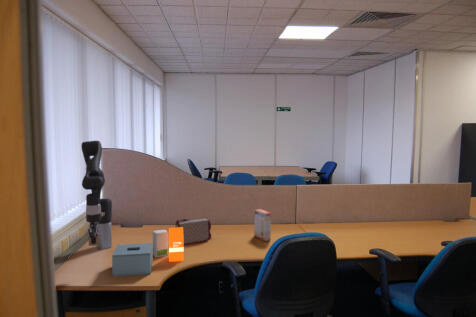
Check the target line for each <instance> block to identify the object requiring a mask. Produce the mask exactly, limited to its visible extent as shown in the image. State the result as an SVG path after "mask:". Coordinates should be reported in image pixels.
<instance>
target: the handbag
mask: <svg viewBox="0 0 476 317" xmlns="http://www.w3.org/2000/svg"><path fill="white" fill-rule="evenodd" d="M178 227H183V237H184V246H188V245H192V244H193V245H194V244H198V243H199V244H200V243H204V242H208V241H209V239H211V238H212V233H211V230H212V229H211V228H212V223H211V222H210V220H209V218H208V217H205V218H195V219H185V218H183V219H177V220H176V221H175V228H178Z"/></svg>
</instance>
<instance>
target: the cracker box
mask: <svg viewBox="0 0 476 317" xmlns="http://www.w3.org/2000/svg"><path fill="white" fill-rule="evenodd" d="M253 226H254V230H253V231H254V234H253V236H254V237H255V236H256V237H255V238H257V239H260V240H261V241H263V242H266V241H267V242H268V241H271V234H272V233H271V232H272V231H271V230H272V229H271V226H272V213H271V212H269V211H267V210H264V209H261V208H257V209H255V210H254V225H253Z"/></svg>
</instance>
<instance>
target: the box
mask: <svg viewBox="0 0 476 317" xmlns="http://www.w3.org/2000/svg"><path fill="white" fill-rule="evenodd" d="M111 256H112V257H111V264H112V267H111V268H112V269H111V270H112V277H113V276H114V277H127V276H143V275H144V276H145V275H151V274H152V268H153V264H154V263H153V262H154V260H153V258H154V255H153V242H147V243H146V242H145V243H127V244H125V243H124V244H117V245H116V247H115V250H114V251H113V253H112V254H111Z"/></svg>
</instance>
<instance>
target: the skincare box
mask: <svg viewBox="0 0 476 317" xmlns="http://www.w3.org/2000/svg"><path fill="white" fill-rule="evenodd" d="M152 243H153V257H155V258H160V257H165V256H169V230H168V231H167V230H166V229H158V230H153V231H152Z"/></svg>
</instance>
